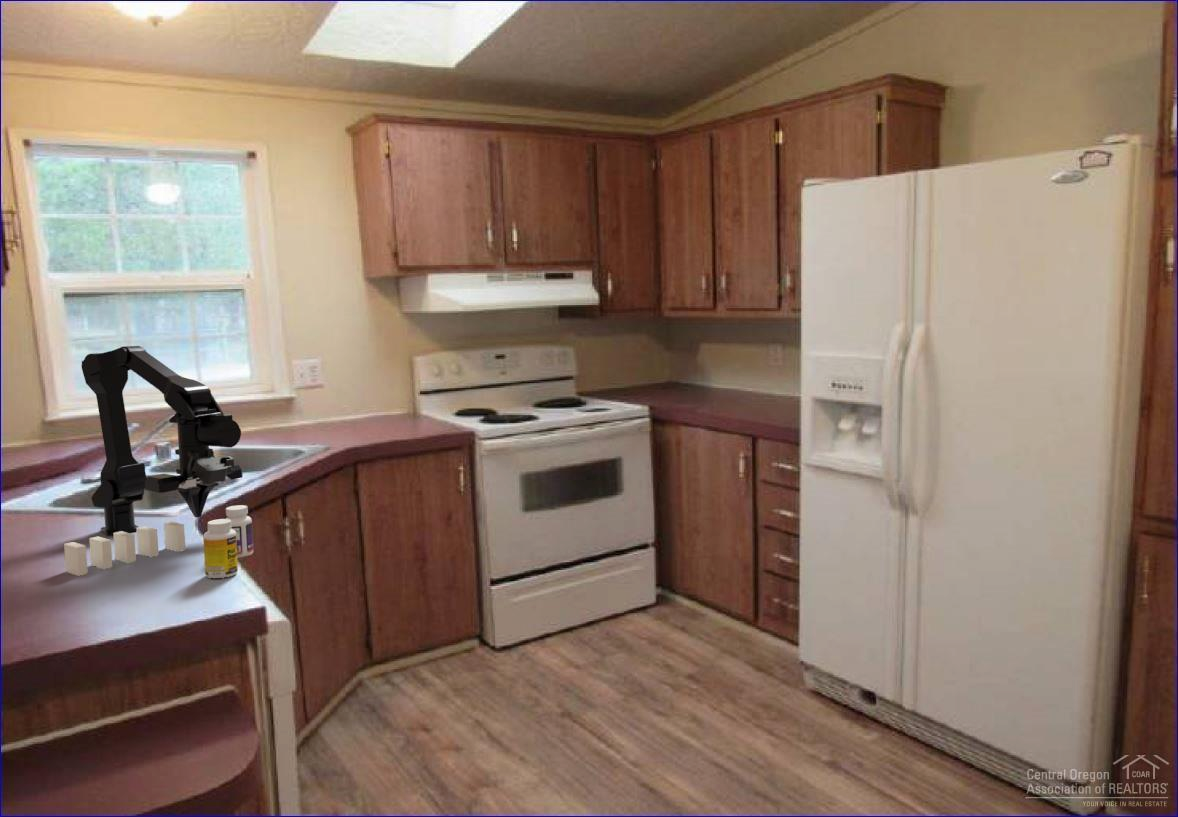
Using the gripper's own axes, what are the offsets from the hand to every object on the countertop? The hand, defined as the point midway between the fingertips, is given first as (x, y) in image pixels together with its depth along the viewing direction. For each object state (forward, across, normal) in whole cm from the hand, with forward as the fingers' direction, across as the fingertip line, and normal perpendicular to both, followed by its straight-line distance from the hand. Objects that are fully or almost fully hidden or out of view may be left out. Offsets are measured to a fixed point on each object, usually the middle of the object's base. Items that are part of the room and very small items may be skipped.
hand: (197, 517), depth 171 cm
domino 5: (+5, -6, -1) cm, 8 cm away
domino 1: (+5, -24, 0) cm, 25 cm away
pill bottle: (+6, -1, -16) cm, 16 cm away
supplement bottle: (+6, -11, -24) cm, 27 cm away
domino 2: (+5, -20, 0) cm, 21 cm away
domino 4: (+5, -11, 0) cm, 12 cm away
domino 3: (+5, -16, 0) cm, 16 cm away
